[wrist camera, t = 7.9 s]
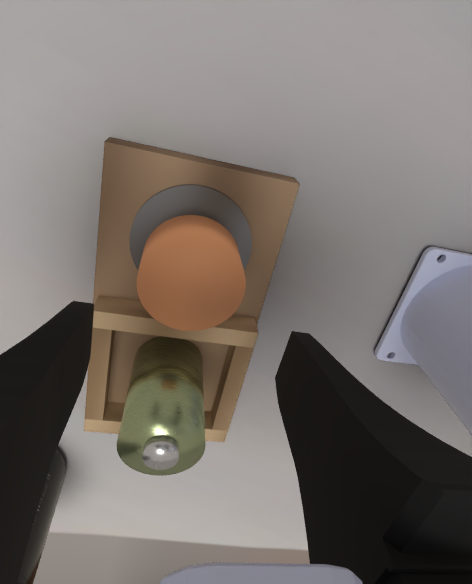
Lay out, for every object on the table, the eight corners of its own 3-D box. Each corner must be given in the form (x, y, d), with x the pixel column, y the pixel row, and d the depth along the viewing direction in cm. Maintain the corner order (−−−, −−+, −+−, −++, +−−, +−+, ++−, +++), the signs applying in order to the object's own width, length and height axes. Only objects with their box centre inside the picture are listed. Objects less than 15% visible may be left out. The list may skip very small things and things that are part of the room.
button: (249, 224, 18) (257, 246, 16) (228, 308, 20) (232, 337, 18) (149, 206, 17) (143, 225, 15) (137, 295, 19) (131, 323, 17)
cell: (210, 342, 23) (215, 432, 17) (194, 393, 25) (194, 490, 19) (140, 329, 22) (121, 420, 16) (129, 383, 24) (108, 482, 18)
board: (294, 177, 20) (307, 192, 18) (219, 428, 28) (222, 460, 26) (109, 137, 18) (97, 148, 16) (88, 416, 27) (78, 450, 24)
